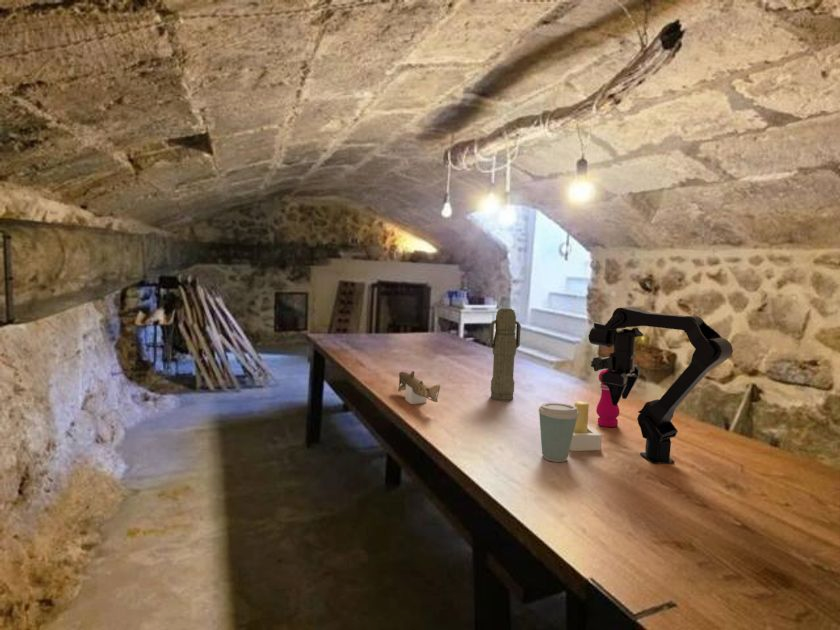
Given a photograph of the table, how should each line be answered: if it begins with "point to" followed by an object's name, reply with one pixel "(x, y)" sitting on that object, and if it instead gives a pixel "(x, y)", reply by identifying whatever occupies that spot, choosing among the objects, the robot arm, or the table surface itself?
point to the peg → (581, 417)
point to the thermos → (504, 353)
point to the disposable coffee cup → (557, 430)
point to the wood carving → (416, 389)
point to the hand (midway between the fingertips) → (619, 401)
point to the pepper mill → (606, 407)
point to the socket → (586, 440)
